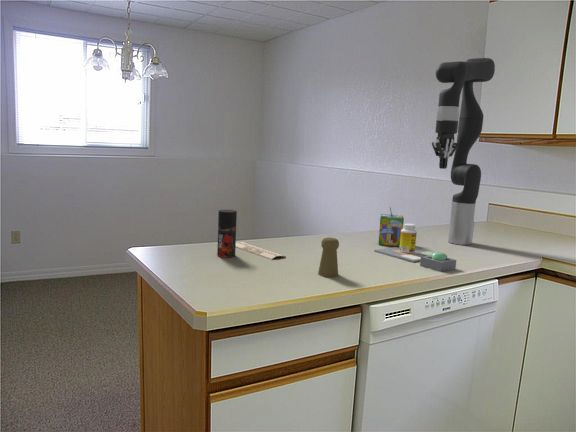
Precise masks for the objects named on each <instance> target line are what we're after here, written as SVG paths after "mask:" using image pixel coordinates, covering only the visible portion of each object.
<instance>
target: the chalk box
mask: <svg viewBox="0 0 576 432" xmlns="http://www.w3.org/2000/svg"><path fill="white" fill-rule="evenodd" d="M389 211H390V214H386V213H385V214H383V213H380V217H379V230H378V231H379V233H378V246H388V247H389V246H391V247H400V238H401V230H402V229H404V224H405V223H404V220H405V219H404V215H399V214H398V215H397V214H393V212H392V207H389Z"/></svg>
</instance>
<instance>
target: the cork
mask: <svg viewBox="0 0 576 432" xmlns="http://www.w3.org/2000/svg"><path fill="white" fill-rule="evenodd" d="M320 246H321V248H322V251H321V257H320V261H319V262H320V263H319V267H318V270H317V271H318V273H317V275H319V276H320V277H322V278H323V277H324V278H335V277H336V278H337V277H338V276H339V263H338V248H339V247H340V242H339V239H337V238H334V237H324V238H322V239H321V245H320Z"/></svg>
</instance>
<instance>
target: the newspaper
mask: <svg viewBox="0 0 576 432" xmlns="http://www.w3.org/2000/svg"><path fill="white" fill-rule="evenodd" d="M236 249H240V250H243V251H246V252H248V253H251V254H254V255H257V256H260V257H263V258H266V259H268V260H271V261H272V260H274V258H276V257H281V258H283V259H284V258H286V257H287V256H285V255H282V254H280V253H276V252H273V251H270V250H267V249H265V248H261V247H258V246H255V245H252V244H250V243H247V242H244V241H243V242H242V241H236Z"/></svg>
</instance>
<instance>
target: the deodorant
mask: <svg viewBox="0 0 576 432" xmlns="http://www.w3.org/2000/svg"><path fill="white" fill-rule="evenodd" d="M237 214H238V211H237V210H234V209H218V216H217V220H218V221H217V222H218V223H217V251H216V252H217V253H216V255H217V257H219V258H227V259H228V258H230V259H231V258H234V257H236V249H237V248H236V243H237V241H236V240H237V221H238V219H237V218H238V217H237V216H238V215H237Z"/></svg>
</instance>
